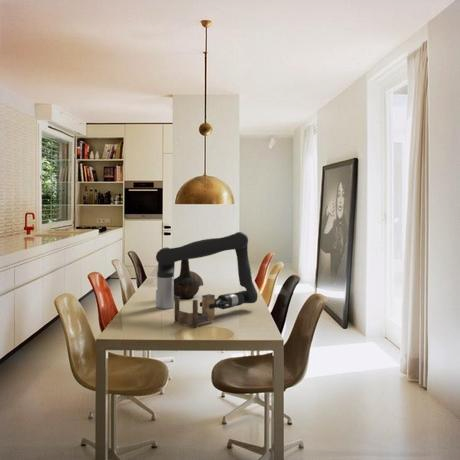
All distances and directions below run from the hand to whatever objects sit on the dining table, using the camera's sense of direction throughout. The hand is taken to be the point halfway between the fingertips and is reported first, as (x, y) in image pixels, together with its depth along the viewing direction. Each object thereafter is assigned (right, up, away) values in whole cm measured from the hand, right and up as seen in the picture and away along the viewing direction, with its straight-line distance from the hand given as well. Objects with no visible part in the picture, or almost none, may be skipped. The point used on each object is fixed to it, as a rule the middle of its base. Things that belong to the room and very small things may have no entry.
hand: (205, 305), depth 273 cm
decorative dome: (-16, 0, +103) cm, 104 cm away
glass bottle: (-15, -3, +59) cm, 61 cm away
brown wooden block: (+1, -7, +2) cm, 7 cm away
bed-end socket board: (-6, -7, -8) cm, 13 cm away
